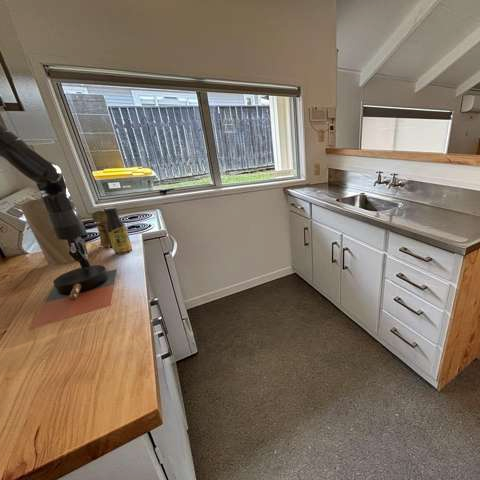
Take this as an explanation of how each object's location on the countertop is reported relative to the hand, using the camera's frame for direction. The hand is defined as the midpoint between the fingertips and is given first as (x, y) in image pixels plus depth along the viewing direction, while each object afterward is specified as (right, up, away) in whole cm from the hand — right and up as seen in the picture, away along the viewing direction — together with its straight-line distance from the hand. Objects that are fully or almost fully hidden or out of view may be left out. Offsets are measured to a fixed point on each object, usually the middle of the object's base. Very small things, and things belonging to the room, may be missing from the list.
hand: (87, 268), depth 92 cm
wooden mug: (-12, +7, +26) cm, 30 cm away
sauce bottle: (0, +4, +18) cm, 19 cm away
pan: (+8, -6, -10) cm, 14 cm away
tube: (-20, +2, +13) cm, 24 cm away
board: (+9, -7, -12) cm, 16 cm away
